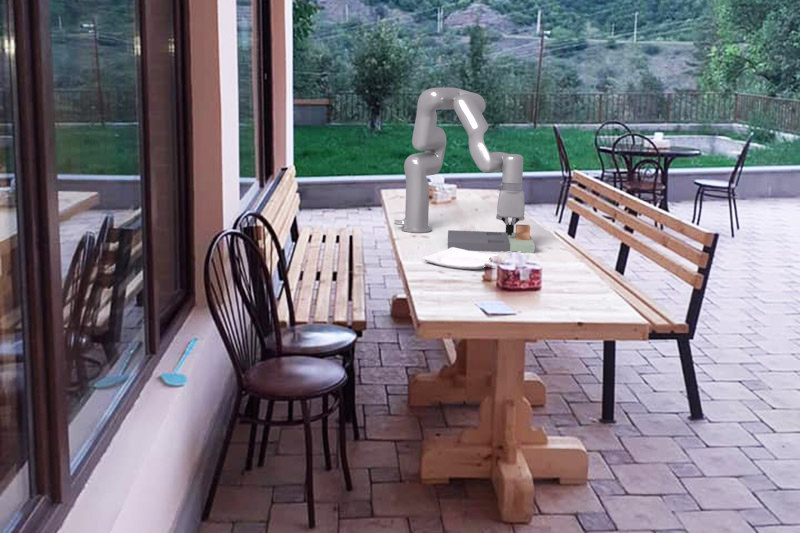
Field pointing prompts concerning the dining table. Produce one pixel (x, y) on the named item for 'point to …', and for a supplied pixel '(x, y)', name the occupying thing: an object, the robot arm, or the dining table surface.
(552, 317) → the dining table surface
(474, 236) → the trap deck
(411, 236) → the dining table surface
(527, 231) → the terracotta block
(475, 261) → the plate
